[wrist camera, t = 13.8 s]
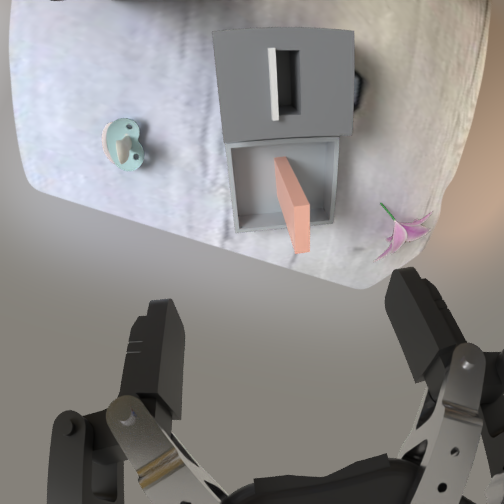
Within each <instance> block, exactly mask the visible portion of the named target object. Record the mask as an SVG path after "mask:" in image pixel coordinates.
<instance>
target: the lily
mask: <svg viewBox="0 0 504 504" xmlns="http://www.w3.org/2000/svg"><path fill="white" fill-rule="evenodd" d="M380 204H381V206H382V207H383V208H384V209H385V210H386V211H387V212H388V214H389V215H390V216H391V217H392V219H393V220H394V222H395V226H394V231H393V235H392V236H391V237H388V238H387V239H386V241H387V242H391V240H392V238H393V241H392V243H391V244H390V246H389V247H388V248H387V250H386V251H385V252H384V253H383V254H381V255H380V256H379V257H378V258H377V259H376V260H374V261H373V262H375V261H378V260H380V259H382V258H384V257H385V256H387V255H388V254H389V253H390V252H391V254H393V253H394V252H396V251H397V250H398V249H399V248H400V247H401V246H402V245H403V244H404V242H406V241H407V242H410V241H414V240H417V239H419V238H421V237H422V236H424V235H426V234H427V233H428V232H430V231H431V229H430V228H427V227H425V226H422V225H420V224H422V223H423V222H424V221H425V220H426V219H427V218H428V217H429V216H430V215H431V214H432V212H433V211H432V212H430V213H429V214H428V215H426V216H425V217H424V218H422V219H420V220H419V219H415V220H414V222H413V223H400V222H397V221H396V220H395V218H394V217H393V216H392V214H391V213H390V212H389V211H388V210H387V209H386V207H385V206H384V205H383V204H382V203H380Z"/></svg>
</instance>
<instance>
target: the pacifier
mask: <svg viewBox="0 0 504 504" xmlns="http://www.w3.org/2000/svg"><path fill="white" fill-rule="evenodd" d="M127 124H131V125H132V129H128V128H127ZM139 134H140V129H139V126H138V124H137V123H136V122H135V121H133V120H131V119H128V118H121V119H118V120H115V121H114V122H110V123H108V124H107V125H106V126H105V128H104V130H103V133H102V146H103V150H104V152H105V154H106V156H107V158H108V159H109V160H110V161H111V162H112V163H114V164H116V166H117V167H119V168H120V169H122V170H124V171H134V170H136V169H137V168H139V167H140V165H141V164H142V162H143V159H144V150H143V147H142V145H141V144H140V143H139V141H138V138H139ZM134 154H138V155H139V159H138V160H135V159H134Z"/></svg>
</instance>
